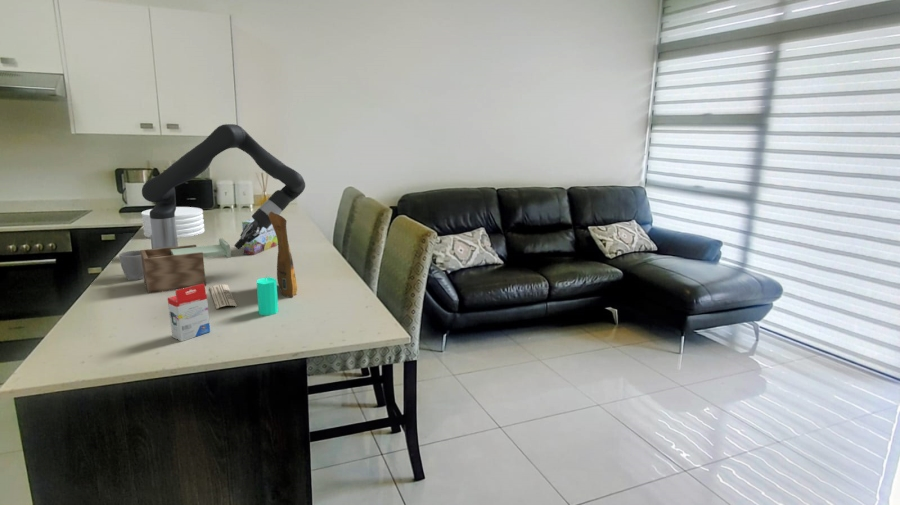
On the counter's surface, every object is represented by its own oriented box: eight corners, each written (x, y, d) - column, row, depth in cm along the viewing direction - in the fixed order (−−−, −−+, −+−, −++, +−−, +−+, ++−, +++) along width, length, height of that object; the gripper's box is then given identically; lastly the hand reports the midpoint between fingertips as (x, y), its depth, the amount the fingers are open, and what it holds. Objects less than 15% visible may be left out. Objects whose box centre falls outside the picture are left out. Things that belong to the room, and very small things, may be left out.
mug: (149, 280, 185) (146, 255, 182) (121, 282, 181) (118, 257, 178) (150, 271, 195) (147, 247, 193) (124, 274, 191) (120, 249, 188)
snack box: (254, 255, 223) (252, 222, 220) (243, 254, 224) (240, 221, 221) (279, 245, 244) (277, 214, 240) (268, 244, 245) (267, 213, 241)
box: (198, 275, 192) (195, 244, 189) (205, 285, 181) (202, 252, 178) (144, 282, 182) (140, 250, 179) (148, 293, 171) (144, 259, 168)
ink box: (201, 328, 144) (196, 279, 141) (210, 332, 142) (206, 283, 138) (171, 337, 138) (165, 287, 134) (180, 342, 135) (175, 290, 131)
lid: (223, 250, 194) (222, 238, 193) (230, 257, 185) (229, 244, 184) (171, 256, 184) (169, 243, 183) (175, 264, 175) (174, 250, 174)
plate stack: (130, 236, 251) (127, 214, 248) (169, 226, 277) (167, 205, 275) (180, 240, 246) (178, 217, 244) (215, 229, 273) (214, 208, 270)
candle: (261, 308, 161) (259, 272, 158) (280, 308, 161) (278, 273, 159) (256, 315, 155) (253, 278, 152) (275, 315, 156) (273, 278, 153)
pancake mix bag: (280, 300, 169) (275, 218, 162) (272, 284, 185) (267, 209, 178) (300, 297, 172) (297, 217, 165) (290, 282, 188) (287, 208, 181)
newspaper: (209, 290, 178) (209, 285, 178) (231, 287, 182) (230, 283, 181) (216, 312, 159) (216, 306, 158) (240, 308, 162) (240, 303, 162)
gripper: (255, 205, 198) (224, 238, 194) (264, 210, 188) (232, 245, 184) (269, 217, 203) (239, 250, 199) (279, 223, 192) (248, 257, 188)
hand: (236, 247), depth 191 cm, fingers closed
